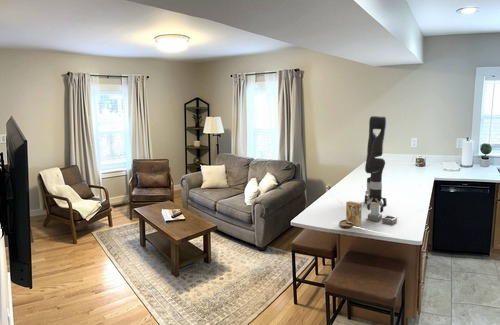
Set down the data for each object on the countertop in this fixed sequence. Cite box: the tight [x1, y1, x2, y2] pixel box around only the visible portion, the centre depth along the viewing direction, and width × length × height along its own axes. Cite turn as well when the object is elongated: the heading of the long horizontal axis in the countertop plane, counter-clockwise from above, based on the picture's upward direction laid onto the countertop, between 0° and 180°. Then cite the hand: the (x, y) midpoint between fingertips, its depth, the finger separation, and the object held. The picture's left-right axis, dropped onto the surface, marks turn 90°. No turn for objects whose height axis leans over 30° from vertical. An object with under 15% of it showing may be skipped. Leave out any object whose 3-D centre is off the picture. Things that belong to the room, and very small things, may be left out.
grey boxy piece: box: [365, 212, 399, 226], centre depth 230 cm, size 18×12×4 cm, turn 47°
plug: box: [370, 202, 380, 216], centre depth 232 cm, size 4×4×11 cm
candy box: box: [345, 200, 362, 228], centre depth 225 cm, size 9×4×15 cm, turn 50°
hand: (375, 211), depth 232 cm, fingers open, 8 cm apart
